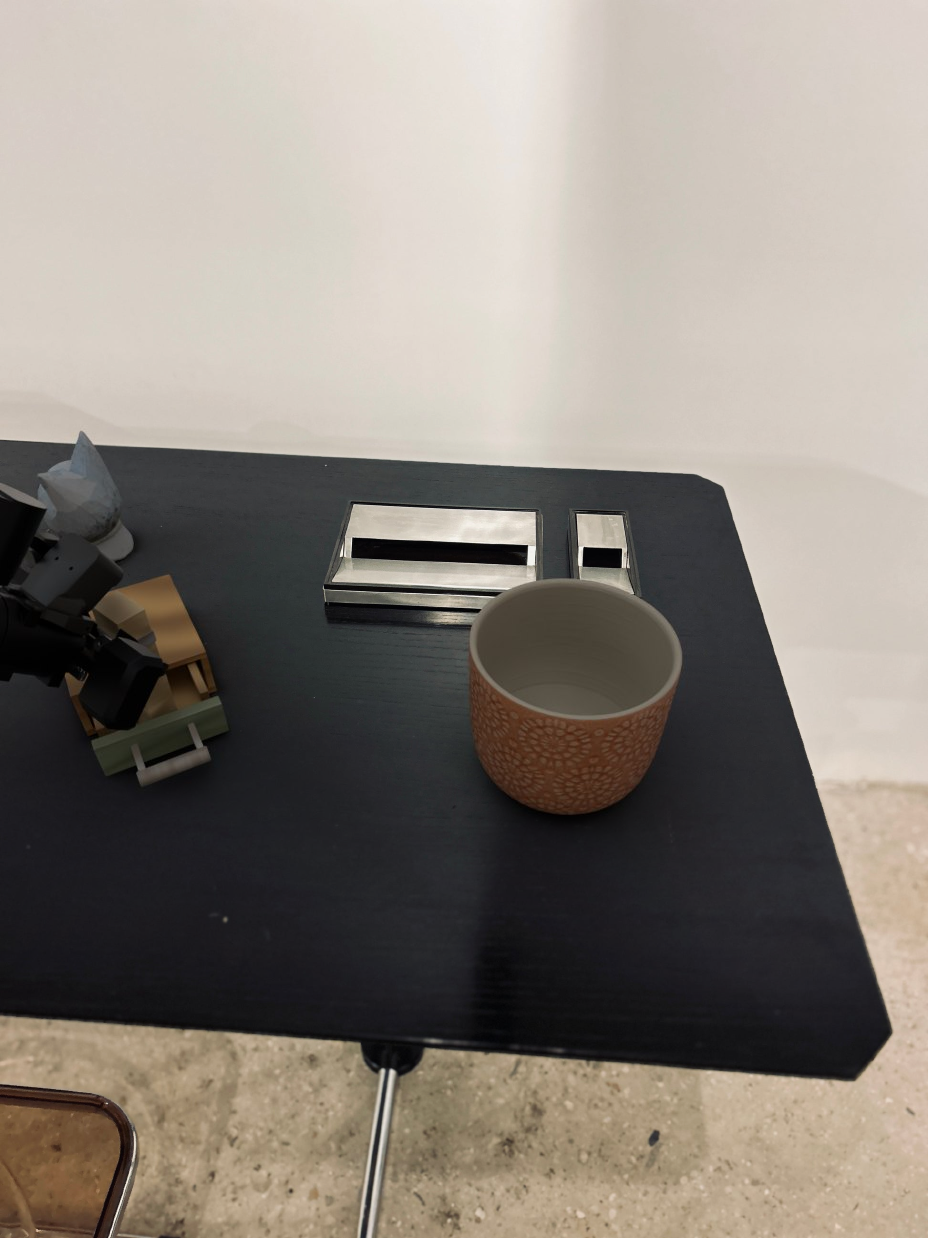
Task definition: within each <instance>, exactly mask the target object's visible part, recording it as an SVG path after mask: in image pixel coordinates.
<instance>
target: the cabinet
mask: <svg viewBox="0 0 928 1238" xmlns="http://www.w3.org/2000/svg"><path fill="white" fill-rule="evenodd" d="M115 591H119V592H120V593H122V594H123V595H125V596H126V597H128V598H129V599H131V600H132V601H133V602H135V603H136V604H138V605H139V606H141V607H142V608H144V609H145V612H146V615H147V618H148V621H149V624H150V627H151V629H152V630H153V631H154V634H155V637H156V640H157V641H156V642H155V643H156V646H157V649H158V652H159V655H160V658H162V661H163V662H166V663H167V664H169V667H168V670H169V669H172V668H175V667H178V666H181V665H184V664H187V663H190V662H193V661H195V663H196V665H197V667H198V669H199V672H200V674H201V676H202V678H203V680H204V683H205V685H206V687H207V689H208V692H209V694H211V693H215V692H217V691H218V690H217V685H216V683H215V679H214V676H213V672H212V668H211V665H210V661H209V658H208V654H207V651H206V649H205V646H204V644H203V642H202V640H201V638H200V636H199V633H198V631H197V629H196V627H195V625H194V623H193V621H192V619H191V617H190V615H189V612H188V611H187V608H186V606H185V604H184V602H183V600H182V598H181V596H180V594H179V591H178V590H177V587H176V585H175V583H174V581H173V579H172V576H171V575H170V574H165V575H162V576H157V577H154V578H151V579H148V580H144V581H141V582H138V583H134V584H129V585H127V586H123V587H120V588H116V589H112V590H110V591H109V592H108V593H107V594H106V595H105V596H104V597H106V596H108V595H110V594H111V593H113V592H115ZM104 597H103V598H104ZM89 614H90V617H91V619H92V620H94V621H96V620H95V617H94V615H93V612H92V610H91V611H90V612H89ZM87 676H88V673H87ZM87 676H86V678H85V680H84V681H78V680H77V679H75V678H74V677H73V676H72V675H70V674H69V673H66V674H65V676H64V678H65V682H66V685H67V689H68V693H69V697H70V699H71V701H72V704H73V706H74V708H75V710H76V712H77V714H78V717H79V719H80V721H81V723H82V726H83V728H84V731H85V732H86V734H87V736H88V737H90V736H93V735H95V734H98V733H97V731H96V727H95V724H94V720H93V717H92V716H91V715H90V714H89V713H87V712H86V711H85V710H84V709H83V708H82V706H81V704H80V701H79V699H78V695H79V693H80V691H81V689H82V687H83V685H84V683H85V681H86V679H87Z"/></svg>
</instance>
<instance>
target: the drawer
mask: <svg viewBox="0 0 928 1238" xmlns="http://www.w3.org/2000/svg"><path fill="white" fill-rule="evenodd" d="M166 676H167V679H168V683H169V686H170V689H171V692H172V695H173V698H174V701H175V704H176V707H177V710H176V711H173V712H171V713H168V714H165V715H162V716H159V717H157V718H154V719H151V720H148V721H145V722H143V723H141V722H140V721H138V722H137V724H136V726H135V728H133V729H130V730H128V731H126V730H112V729H107V728H106V727H104V726H103V725H102V724H101V723H99V722H98V721H97V720H96V719H95V718H93V720H94V724H95V727H96V731H97V733H96V734H97V735H98V738H95V739H93V740H90V741H91V746H92V750H93V752H94V754H95V756H96V758H97V760H98V762H99V765H100V767H101V769H102V771H103V774H104V776H105V777H109V776H111V775H113V774H117V773H119V772H122V771H124V770H127V769H129V768H132V767H136V768H137V771H136V772H135V773H136V777H137V780H138V782H139V785H140V787H141V788H144V787H147V786H150V785H152V784H155V783H157V782H160V781H162V780H165V779H167V778H170V777H173V776H175V775H178V774H180V773H183V772H185V771H188V770H190V769H194V768H196V767H199V766H201V765H204V764H206V763H209V762H211V761H212V758H211V754H210V752H209V750H208V747H207V745H204V744H203V741H204V740H207V739H210V738H213V737H215V736H218V735H220V734H224V733H226V732H228V731H230V729H229V725H228V721H227V718H226V714H225V711H224V706H223V704H222V701H221V699H220V697H219V696H218V695H216V696H213V697H211V696H210V693H209V692H208V689H207V687H206V685H205V683H204V680H203V678H202V676H201V674H200V672H199V669H198V667H197V665H196V663H195V661H193V662H190V663H187V664H184V665H181V666H178V667H175V668H172V669H169V670H167V672H166ZM191 745H194V746H195V749H193V750H191V751H187V752H185V753H182V754H180V755H178V756H175V757H172V758H169V759H167V760H165V761H162V762H158V763H157V764H154V765H150V766H148V767H146V765H145V763H146V762H149V761H151V760H154V759H156V758H159V757H162V756H164V755H168V754H170V753H173V752H175V751H178V750H180V749H183V748H185V747H188V746H191Z"/></svg>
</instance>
